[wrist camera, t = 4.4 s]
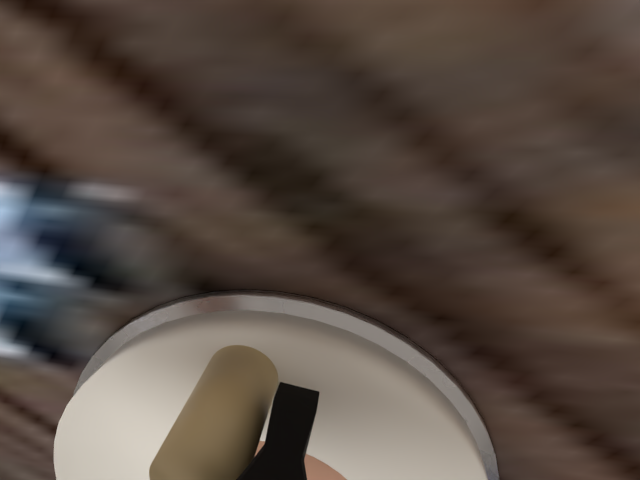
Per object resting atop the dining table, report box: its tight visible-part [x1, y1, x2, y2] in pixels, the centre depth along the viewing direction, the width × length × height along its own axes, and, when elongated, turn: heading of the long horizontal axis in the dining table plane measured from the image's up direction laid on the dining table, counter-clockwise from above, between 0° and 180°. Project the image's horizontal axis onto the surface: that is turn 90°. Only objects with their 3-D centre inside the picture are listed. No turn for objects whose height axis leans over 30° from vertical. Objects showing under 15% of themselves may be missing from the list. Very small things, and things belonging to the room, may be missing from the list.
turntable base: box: [73, 290, 499, 480], centre depth 19 cm, size 19×19×1 cm
